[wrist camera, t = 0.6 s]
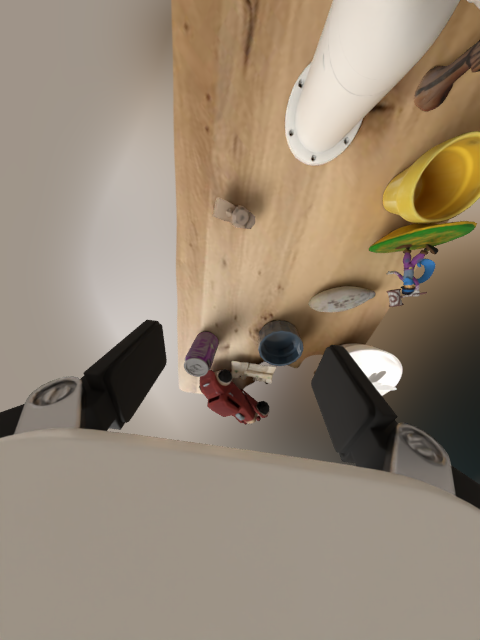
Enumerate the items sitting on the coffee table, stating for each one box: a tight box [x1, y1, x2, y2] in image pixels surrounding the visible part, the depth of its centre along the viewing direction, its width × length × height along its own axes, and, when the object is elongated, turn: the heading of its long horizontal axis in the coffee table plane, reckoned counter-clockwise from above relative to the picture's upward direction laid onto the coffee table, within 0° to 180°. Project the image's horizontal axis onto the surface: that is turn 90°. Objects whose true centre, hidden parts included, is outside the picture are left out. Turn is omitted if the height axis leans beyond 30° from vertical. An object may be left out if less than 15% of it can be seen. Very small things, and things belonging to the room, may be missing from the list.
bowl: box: [341, 343, 402, 396], centre depth 48 cm, size 19×20×8 cm
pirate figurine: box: [369, 221, 477, 307], centre depth 32 cm, size 14×13×15 cm
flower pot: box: [383, 131, 480, 223], centre depth 28 cm, size 10×10×10 cm
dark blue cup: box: [258, 320, 303, 366], centre depth 48 cm, size 12×12×6 cm
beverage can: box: [184, 332, 218, 377], centre depth 48 cm, size 7×7×12 cm
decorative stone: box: [309, 286, 375, 312], centre depth 42 cm, size 6×16×3 cm, turn 103°
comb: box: [231, 361, 277, 383], centre depth 56 cm, size 15×2×10 cm
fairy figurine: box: [368, 371, 396, 390], centre depth 42 cm, size 6×7×7 cm
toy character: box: [213, 198, 255, 229], centre depth 34 cm, size 4×8×6 cm, turn 70°
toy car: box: [199, 370, 269, 424], centre depth 58 cm, size 15×28×10 cm, turn 41°
